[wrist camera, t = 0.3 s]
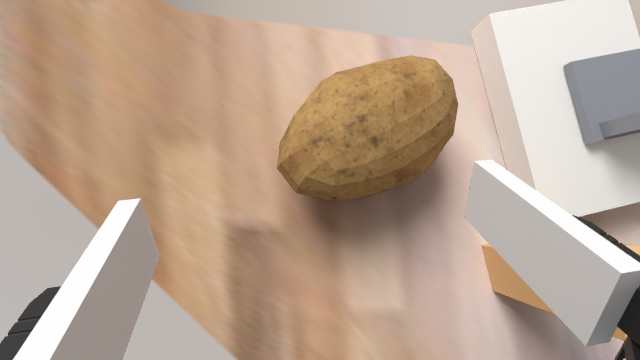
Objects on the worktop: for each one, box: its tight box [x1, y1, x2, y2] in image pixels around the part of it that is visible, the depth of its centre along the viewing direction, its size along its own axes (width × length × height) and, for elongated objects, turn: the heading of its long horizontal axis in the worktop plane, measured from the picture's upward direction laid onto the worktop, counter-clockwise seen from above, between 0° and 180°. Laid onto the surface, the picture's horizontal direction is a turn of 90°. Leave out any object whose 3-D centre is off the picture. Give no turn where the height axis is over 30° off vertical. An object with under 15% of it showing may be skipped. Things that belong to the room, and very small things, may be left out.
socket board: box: [471, 0, 640, 217], centre depth 31 cm, size 18×13×3 cm
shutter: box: [564, 49, 640, 144], centre depth 27 cm, size 7×7×5 cm
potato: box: [277, 56, 458, 201], centre depth 26 cm, size 10×14×8 cm
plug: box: [482, 244, 640, 341], centre depth 25 cm, size 4×4×12 cm
